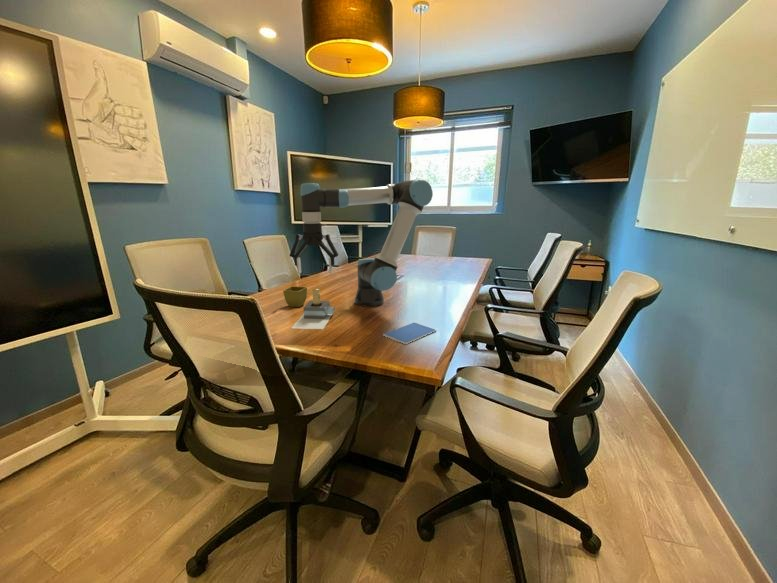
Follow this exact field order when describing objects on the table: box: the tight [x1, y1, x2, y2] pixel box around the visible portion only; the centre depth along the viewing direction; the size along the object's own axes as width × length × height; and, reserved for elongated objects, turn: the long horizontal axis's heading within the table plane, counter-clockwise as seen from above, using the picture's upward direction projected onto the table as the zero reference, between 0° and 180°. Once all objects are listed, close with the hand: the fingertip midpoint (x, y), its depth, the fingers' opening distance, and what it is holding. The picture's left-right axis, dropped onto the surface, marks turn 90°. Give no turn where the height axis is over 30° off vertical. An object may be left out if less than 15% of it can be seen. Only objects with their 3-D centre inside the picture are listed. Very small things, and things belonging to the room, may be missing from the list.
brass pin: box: [312, 287, 321, 306], centre depth 142 cm, size 3×3×12 cm
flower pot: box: [282, 285, 308, 308], centre depth 160 cm, size 9×9×9 cm
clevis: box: [303, 300, 336, 319], centre depth 143 cm, size 12×10×5 cm
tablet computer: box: [382, 322, 437, 345], centre depth 128 cm, size 19×13×1 cm, turn 135°
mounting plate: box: [291, 313, 333, 330], centre depth 139 cm, size 13×22×2 cm, turn 178°
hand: (315, 273), depth 138 cm, fingers open, 13 cm apart
